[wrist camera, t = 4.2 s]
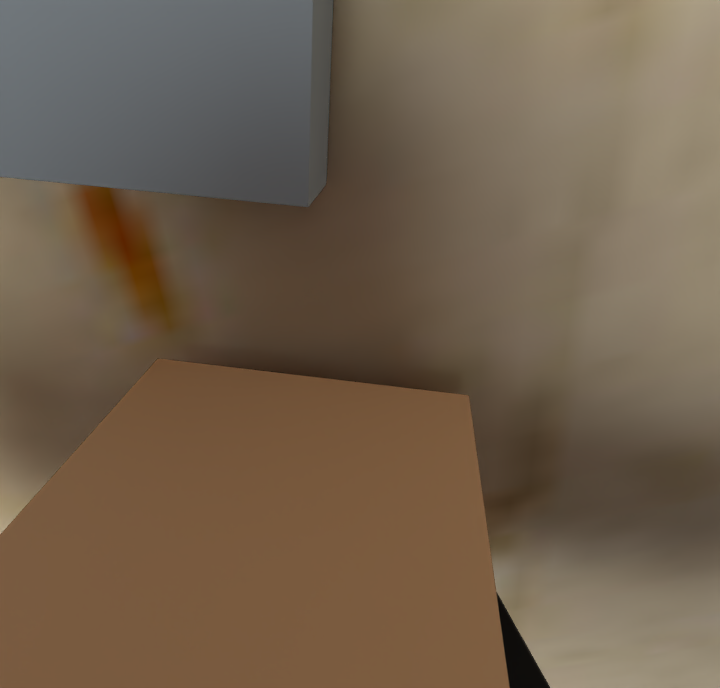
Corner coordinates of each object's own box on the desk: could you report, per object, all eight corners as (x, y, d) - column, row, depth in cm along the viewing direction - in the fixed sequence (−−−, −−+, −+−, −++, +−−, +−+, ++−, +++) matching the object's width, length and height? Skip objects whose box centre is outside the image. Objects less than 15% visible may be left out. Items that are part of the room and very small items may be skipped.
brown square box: (468, 395, 9) (534, 858, 4) (425, 598, 12) (429, 1031, 6) (157, 358, 9) (-182, 738, 4) (186, 563, 12) (4, 950, 7)
